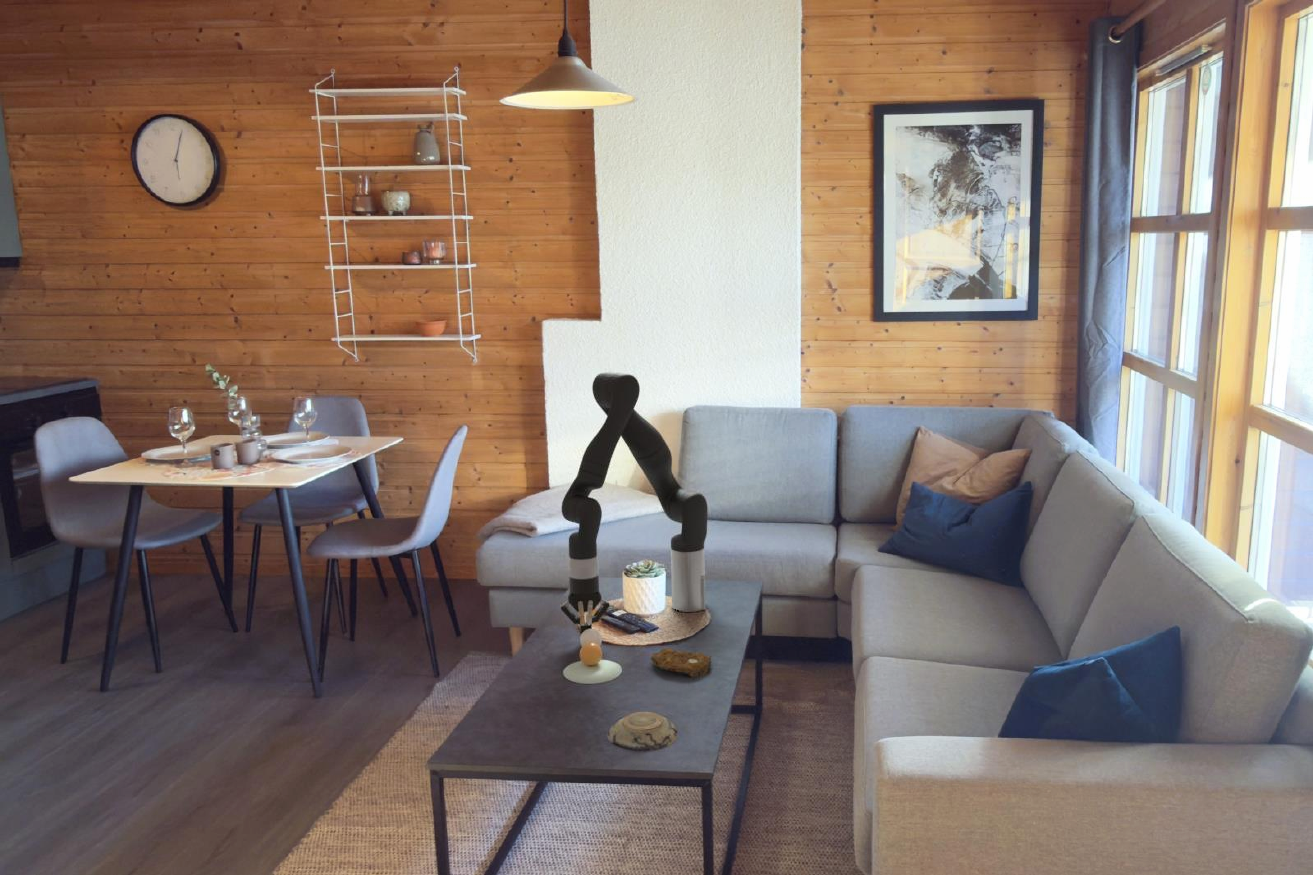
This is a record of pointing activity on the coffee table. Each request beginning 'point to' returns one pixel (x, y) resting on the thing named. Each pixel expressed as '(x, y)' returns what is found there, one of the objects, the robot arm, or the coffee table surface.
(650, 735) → the decorative bowl
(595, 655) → the object ball
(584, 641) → the cue ball
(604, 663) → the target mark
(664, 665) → the decorative rock
